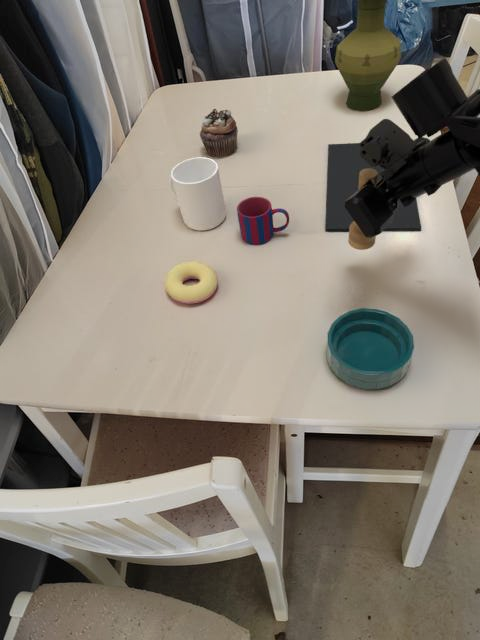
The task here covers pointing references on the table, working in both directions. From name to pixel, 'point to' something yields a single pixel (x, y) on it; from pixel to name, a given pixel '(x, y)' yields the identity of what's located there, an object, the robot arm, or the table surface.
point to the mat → (345, 183)
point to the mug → (198, 193)
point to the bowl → (369, 348)
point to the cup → (258, 220)
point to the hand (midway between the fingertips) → (357, 206)
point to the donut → (196, 291)
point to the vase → (367, 56)
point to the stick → (355, 234)
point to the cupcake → (219, 134)
